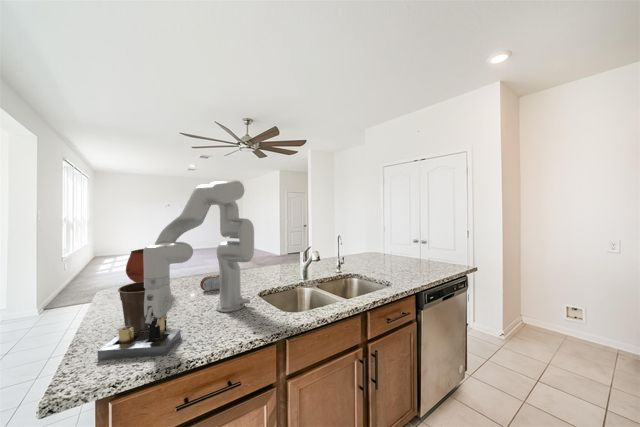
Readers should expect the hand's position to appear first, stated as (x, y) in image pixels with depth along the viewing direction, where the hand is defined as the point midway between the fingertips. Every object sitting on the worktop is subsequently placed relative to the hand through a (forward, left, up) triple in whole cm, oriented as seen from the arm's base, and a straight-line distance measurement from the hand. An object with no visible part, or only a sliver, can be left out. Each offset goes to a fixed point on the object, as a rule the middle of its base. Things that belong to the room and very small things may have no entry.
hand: (158, 334), depth 91 cm
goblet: (+33, -61, -4) cm, 69 cm away
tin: (-2, -64, -5) cm, 64 cm away
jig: (+5, 0, -4) cm, 7 cm away
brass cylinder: (0, 0, -1) cm, 1 cm away
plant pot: (+14, -19, -5) cm, 24 cm away
